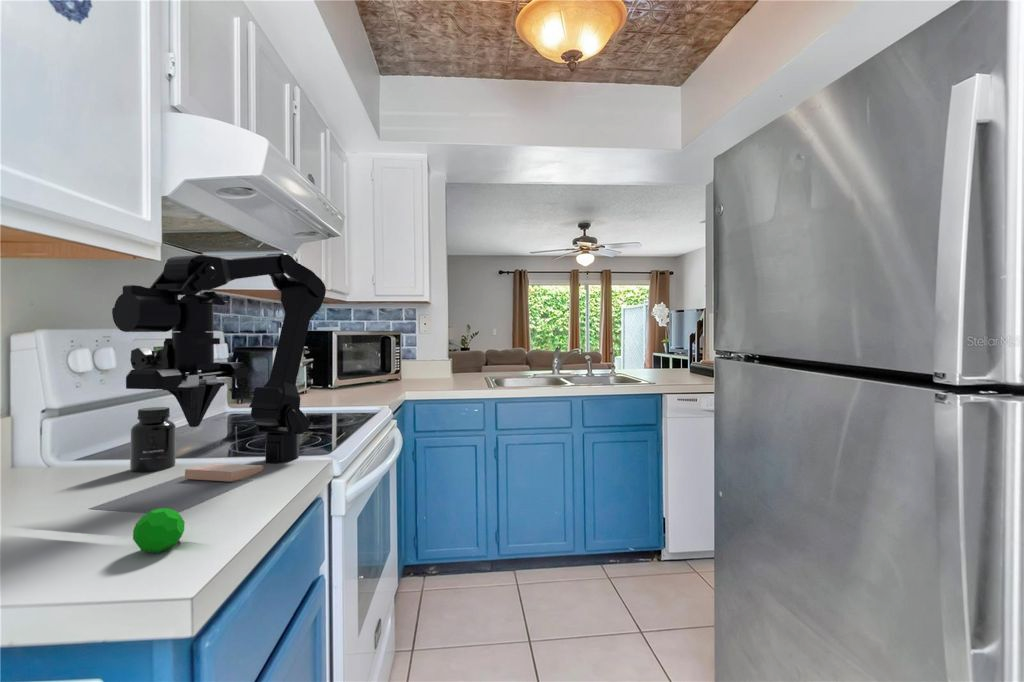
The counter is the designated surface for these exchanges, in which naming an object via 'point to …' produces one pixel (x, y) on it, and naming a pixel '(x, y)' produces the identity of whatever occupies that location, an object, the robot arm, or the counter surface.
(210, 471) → the tile
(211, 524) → the counter surface
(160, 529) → the polyhedron
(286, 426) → the robot arm
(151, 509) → the mat
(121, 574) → the counter surface
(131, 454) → the supplement bottle
